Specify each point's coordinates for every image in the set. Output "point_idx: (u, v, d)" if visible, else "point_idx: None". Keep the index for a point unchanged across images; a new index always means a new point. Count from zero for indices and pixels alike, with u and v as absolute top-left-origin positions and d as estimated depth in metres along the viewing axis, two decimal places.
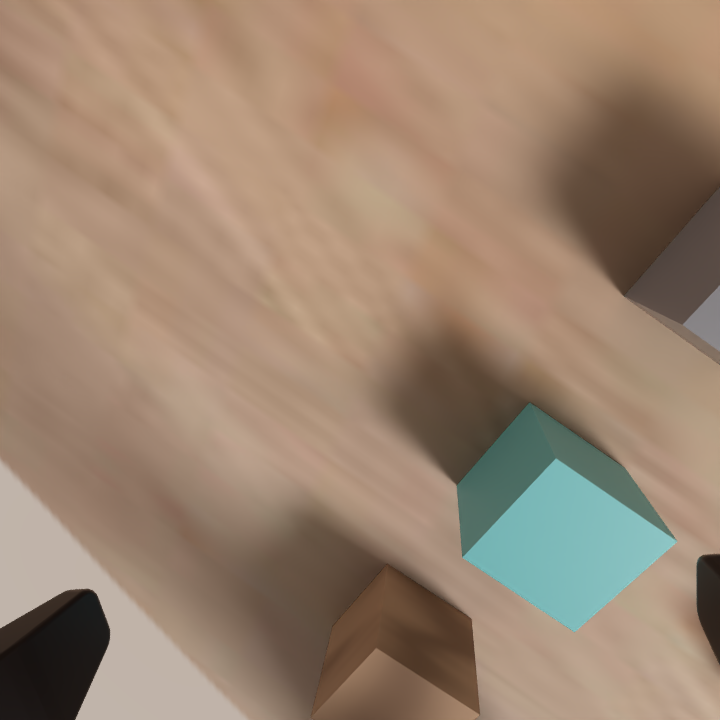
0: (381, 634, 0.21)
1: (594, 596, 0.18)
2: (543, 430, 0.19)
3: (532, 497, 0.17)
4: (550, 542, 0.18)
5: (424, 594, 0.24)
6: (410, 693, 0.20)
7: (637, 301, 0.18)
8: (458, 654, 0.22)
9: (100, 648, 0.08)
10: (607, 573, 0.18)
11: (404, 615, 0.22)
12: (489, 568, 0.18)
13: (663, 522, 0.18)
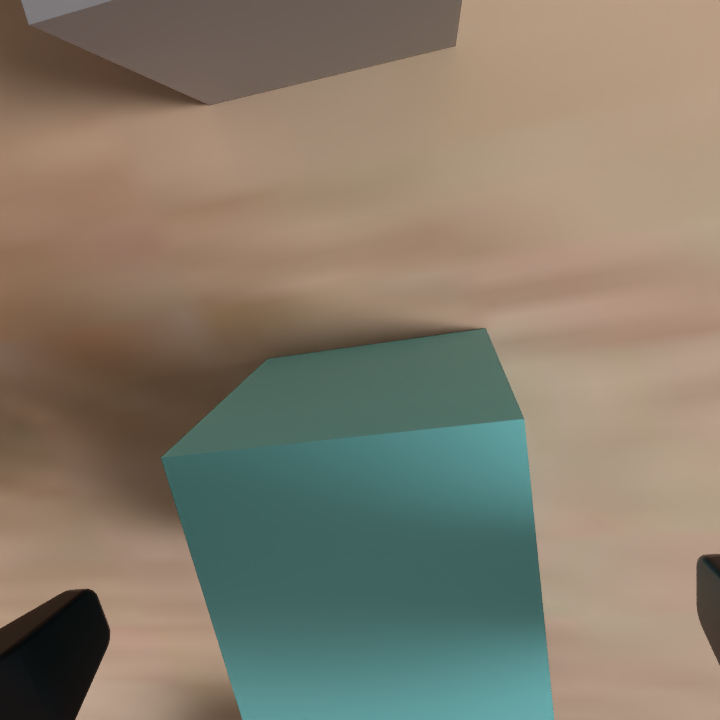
0: None
1: (508, 637, 0.07)
2: (224, 400, 0.09)
3: (212, 551, 0.08)
4: (326, 602, 0.08)
5: None
6: None
7: (177, 88, 0.09)
8: None
9: (100, 648, 0.08)
10: (478, 580, 0.07)
11: None
12: (298, 713, 0.08)
13: (511, 390, 0.07)
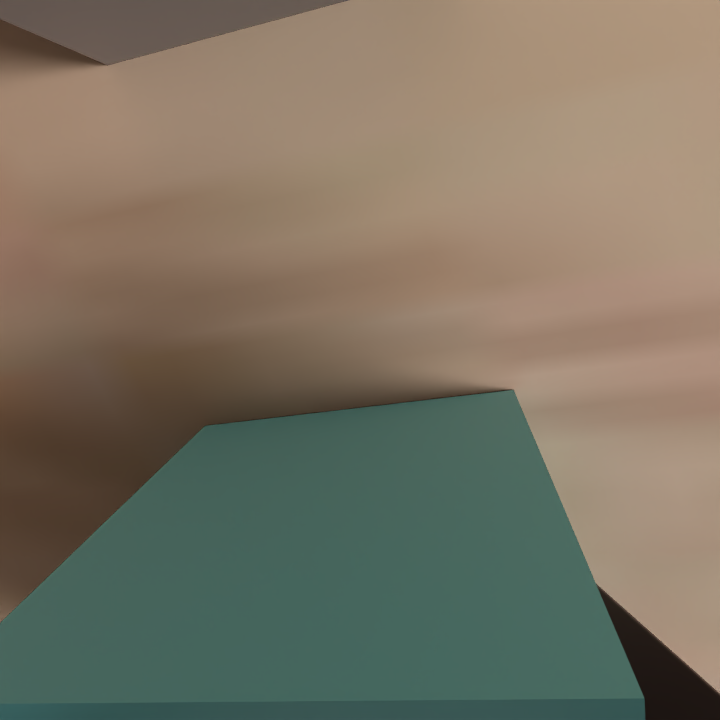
0: None
1: None
2: (105, 525, 0.06)
3: None
4: None
5: None
6: None
7: (33, 29, 0.06)
8: None
9: None
10: None
11: None
12: None
13: (589, 569, 0.04)
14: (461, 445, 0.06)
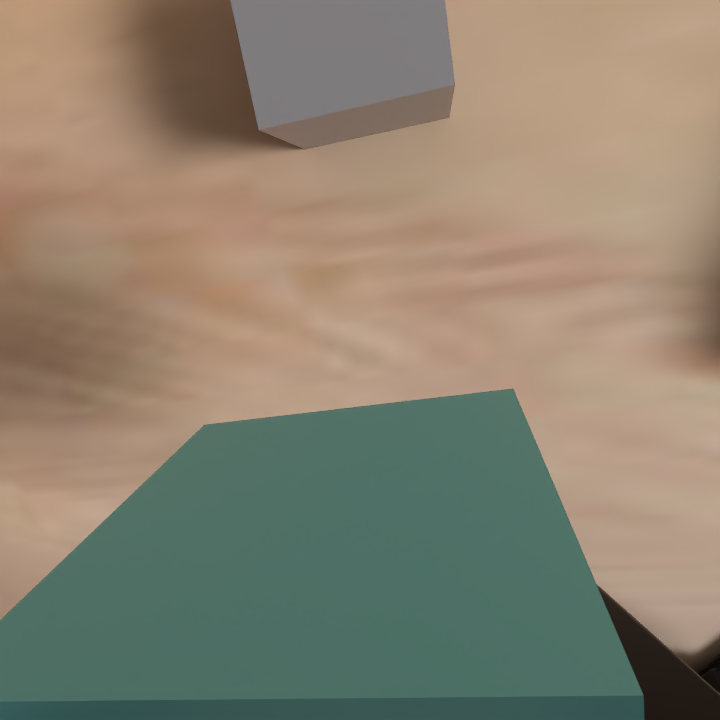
0: None
1: None
2: (104, 524, 0.06)
3: None
4: None
5: None
6: None
7: (294, 143, 0.16)
8: None
9: None
10: None
11: None
12: None
13: (588, 567, 0.04)
14: (461, 444, 0.06)
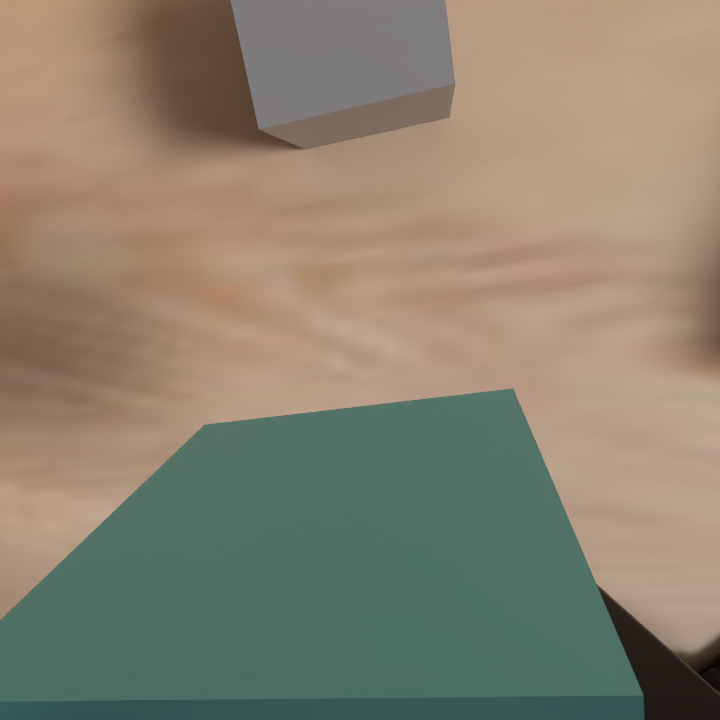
0: None
1: None
2: (104, 524, 0.06)
3: None
4: None
5: None
6: None
7: (294, 143, 0.16)
8: None
9: None
10: None
11: None
12: None
13: (588, 567, 0.04)
14: (461, 444, 0.06)
